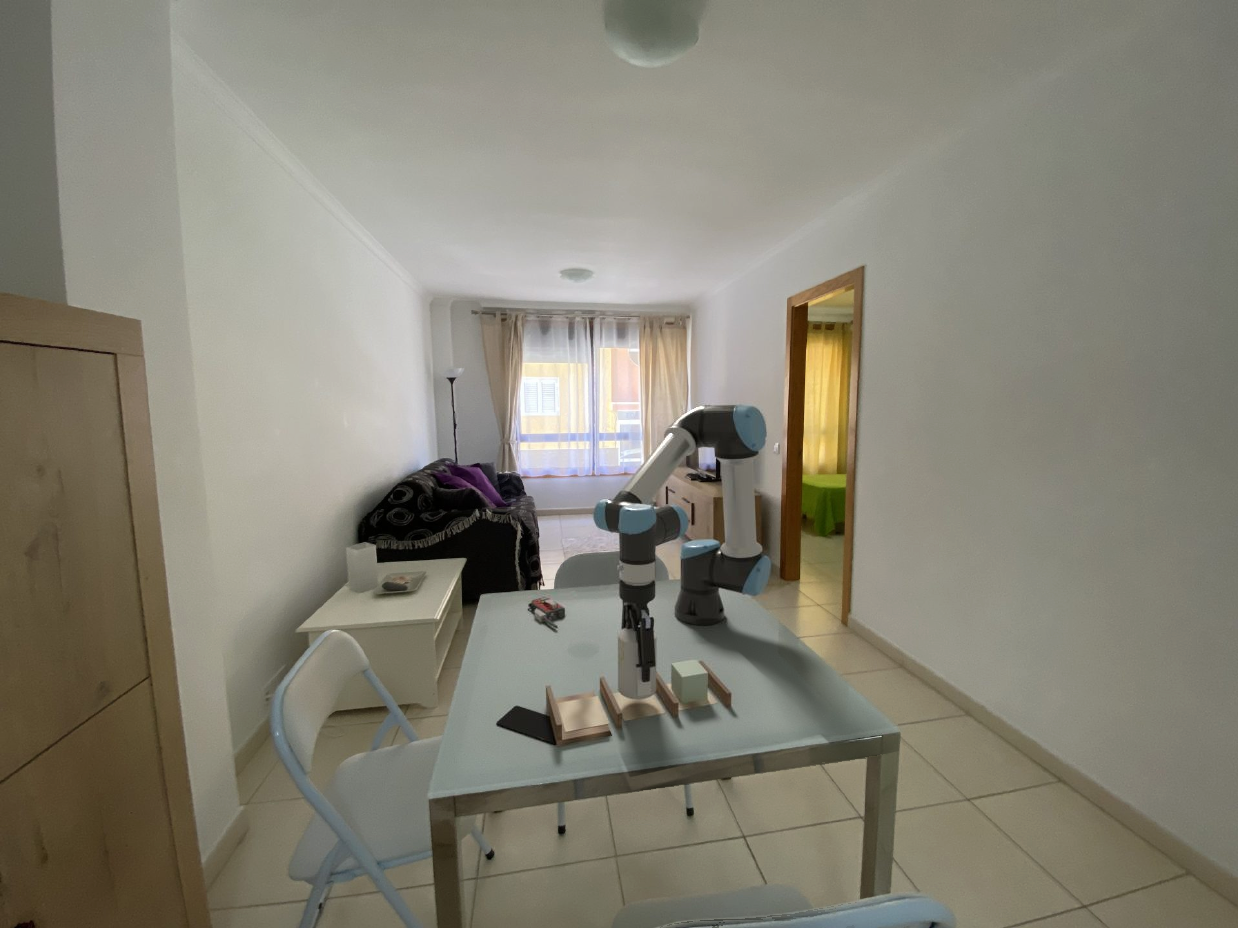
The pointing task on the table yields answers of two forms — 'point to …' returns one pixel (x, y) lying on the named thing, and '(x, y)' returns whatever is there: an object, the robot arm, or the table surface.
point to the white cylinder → (631, 665)
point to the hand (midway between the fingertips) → (637, 682)
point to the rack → (618, 709)
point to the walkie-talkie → (546, 610)
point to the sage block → (689, 681)
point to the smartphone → (529, 724)
